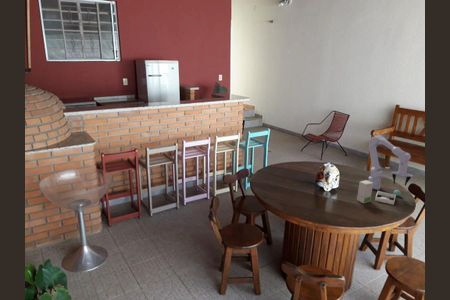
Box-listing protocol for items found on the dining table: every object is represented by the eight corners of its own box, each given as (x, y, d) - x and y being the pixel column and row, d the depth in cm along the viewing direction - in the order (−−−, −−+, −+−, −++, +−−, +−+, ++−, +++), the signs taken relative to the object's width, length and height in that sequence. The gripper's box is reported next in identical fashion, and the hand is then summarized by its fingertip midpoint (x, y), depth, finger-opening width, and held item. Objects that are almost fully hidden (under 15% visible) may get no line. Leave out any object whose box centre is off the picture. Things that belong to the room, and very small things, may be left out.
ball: (392, 196, 248) (393, 190, 246) (393, 193, 252) (394, 188, 250) (399, 197, 245) (400, 191, 244) (400, 195, 249) (401, 189, 248)
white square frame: (374, 200, 240) (375, 196, 239) (377, 194, 251) (377, 190, 250) (393, 204, 234) (394, 201, 233) (395, 198, 244) (395, 194, 243)
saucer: (379, 199, 241) (379, 199, 241) (380, 196, 247) (380, 195, 246) (389, 202, 237) (389, 201, 237) (390, 198, 243) (390, 198, 243)
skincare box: (363, 203, 235) (366, 184, 230) (355, 200, 240) (358, 181, 235) (370, 201, 238) (373, 182, 234) (363, 197, 244) (366, 179, 239)
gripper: (392, 168, 241) (389, 184, 245) (413, 171, 235) (410, 188, 239) (392, 165, 247) (389, 181, 251) (413, 168, 241) (410, 184, 245)
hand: (399, 184), depth 245 cm, fingers open, 7 cm apart
